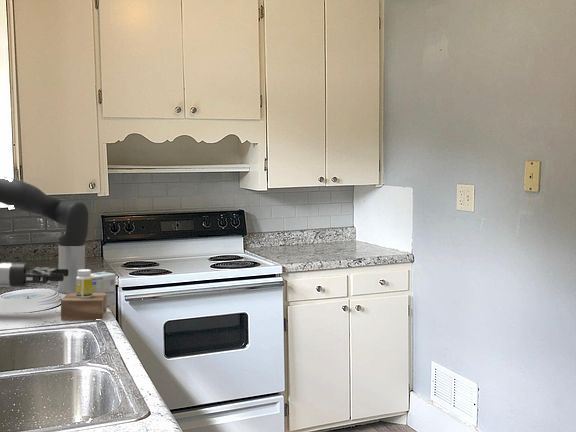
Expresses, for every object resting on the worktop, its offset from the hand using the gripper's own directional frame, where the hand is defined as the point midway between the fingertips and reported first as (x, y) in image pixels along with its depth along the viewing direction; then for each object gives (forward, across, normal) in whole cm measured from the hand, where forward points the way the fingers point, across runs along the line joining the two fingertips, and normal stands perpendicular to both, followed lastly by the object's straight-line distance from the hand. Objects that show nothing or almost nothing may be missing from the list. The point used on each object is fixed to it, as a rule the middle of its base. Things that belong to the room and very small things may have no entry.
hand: (66, 275), depth 203 cm
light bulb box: (+8, +14, +13) cm, 21 cm away
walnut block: (+6, 0, +13) cm, 14 cm away
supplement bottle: (+6, 0, +7) cm, 9 cm away
